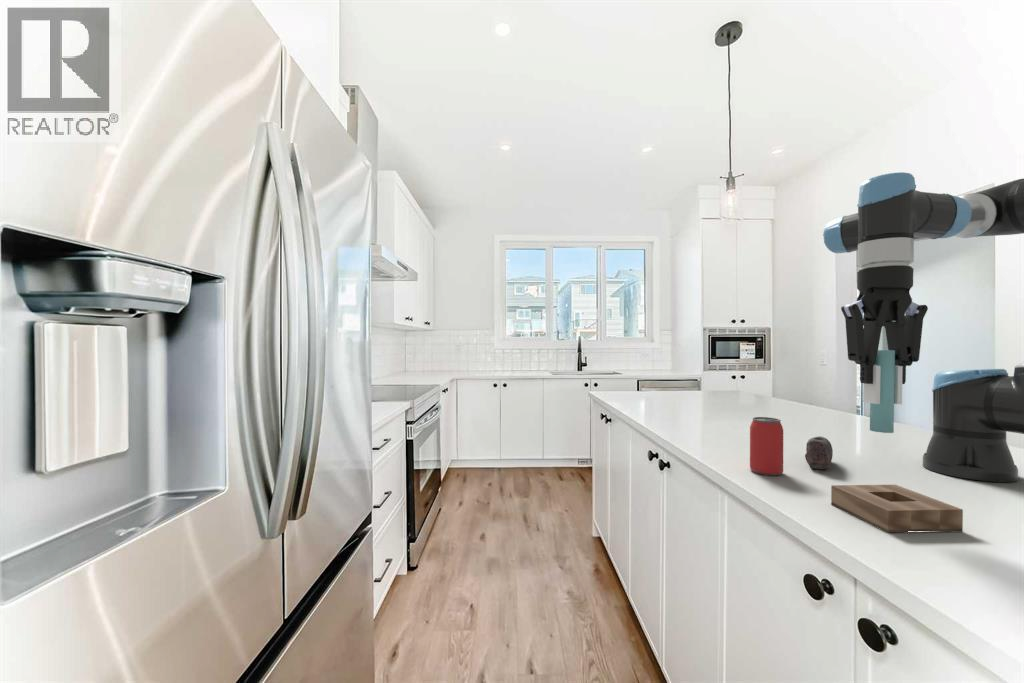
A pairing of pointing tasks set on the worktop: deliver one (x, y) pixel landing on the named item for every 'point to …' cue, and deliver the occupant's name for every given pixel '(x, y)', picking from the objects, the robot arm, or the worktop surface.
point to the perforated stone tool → (819, 452)
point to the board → (896, 508)
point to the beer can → (766, 446)
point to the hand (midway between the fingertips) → (882, 402)
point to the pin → (884, 394)
